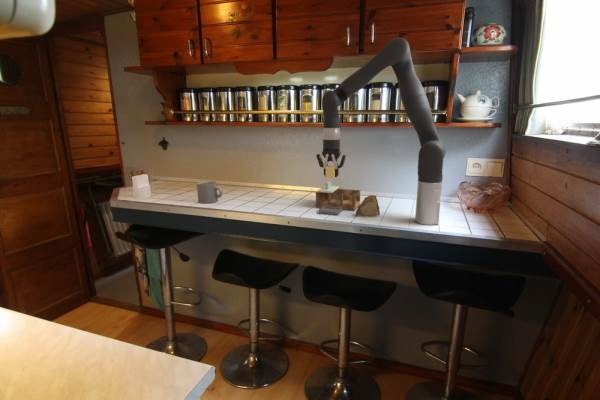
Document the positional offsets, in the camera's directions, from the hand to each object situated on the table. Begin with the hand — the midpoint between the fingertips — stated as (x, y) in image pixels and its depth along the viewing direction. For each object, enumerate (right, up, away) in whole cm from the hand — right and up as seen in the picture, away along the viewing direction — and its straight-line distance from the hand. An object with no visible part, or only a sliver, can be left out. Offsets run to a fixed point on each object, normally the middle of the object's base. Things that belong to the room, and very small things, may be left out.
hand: (331, 176), depth 155 cm
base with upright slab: (-103, -9, +39) cm, 110 cm away
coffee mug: (-61, -12, +25) cm, 67 cm away
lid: (0, -6, +14) cm, 15 cm away
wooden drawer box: (+5, -14, +14) cm, 20 cm away
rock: (+16, -18, -2) cm, 24 cm away
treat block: (0, 0, 0) cm, 0 cm away
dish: (0, -16, +4) cm, 17 cm away
